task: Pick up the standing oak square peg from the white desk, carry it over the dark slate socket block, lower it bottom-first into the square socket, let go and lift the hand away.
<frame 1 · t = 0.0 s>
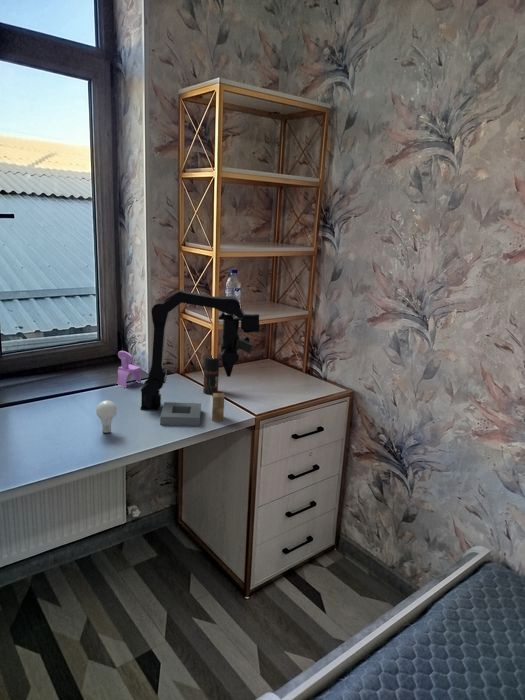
hand: (228, 372, 183), 15 cm above the table, tool pointing down, fingers open, 9 cm apart
toy chair: (128, 384, 206), on the table
deodorant: (210, 392, 204), on the table
peg: (217, 418, 178), on the table
socket block: (181, 417, 177), on the table
lightbulb: (106, 433, 161), on the table
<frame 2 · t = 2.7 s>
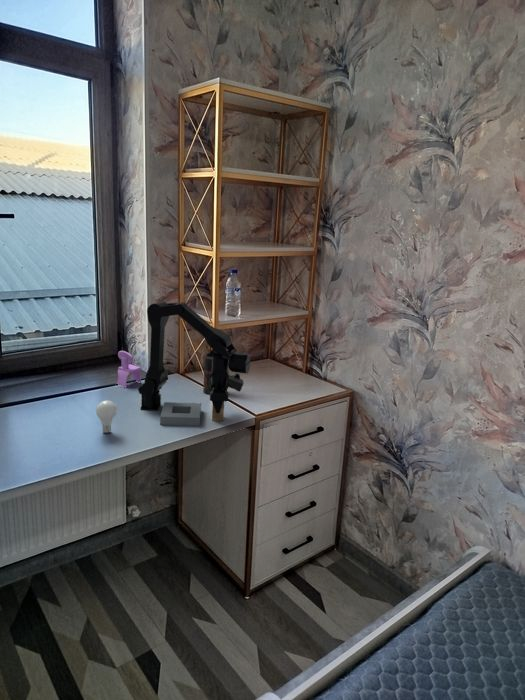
hand: (218, 410, 177), 3 cm above the table, tool pointing down, fingers closed on peg, 4 cm apart
peg: (217, 418, 178), on the table, touching gripper
everything else where it was.
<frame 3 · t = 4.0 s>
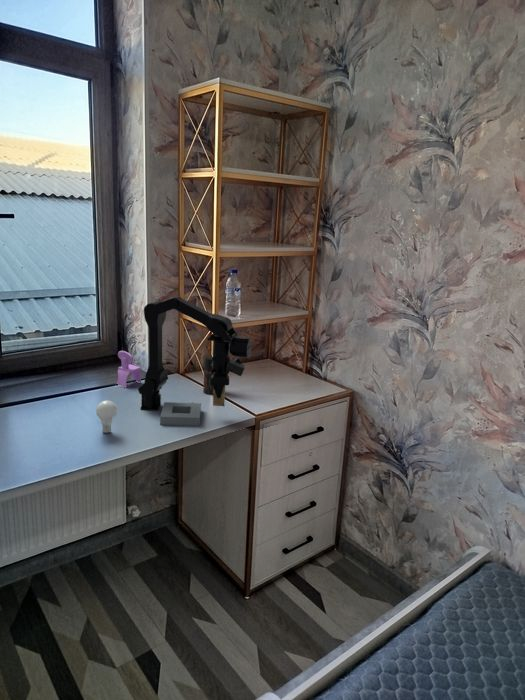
hand: (218, 395, 176), 9 cm above the table, tool pointing down, fingers closed on peg, 4 cm apart
peg: (218, 403, 177), point 6 cm above the table, touching gripper
everything else where it was.
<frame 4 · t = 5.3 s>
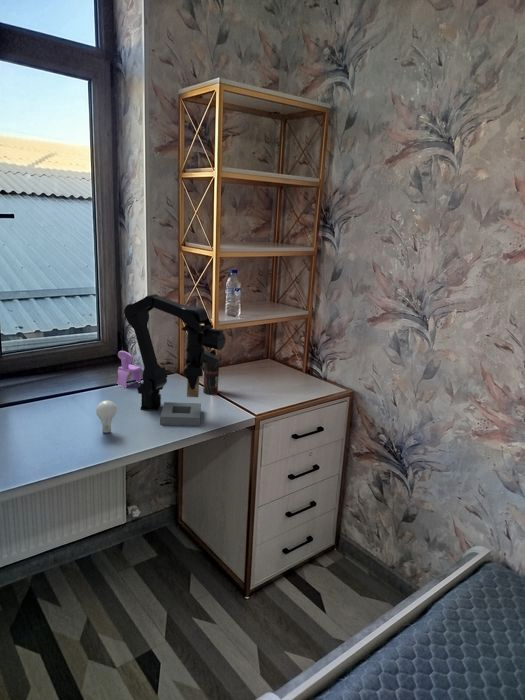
hand: (193, 387, 174), 12 cm above the table, tool pointing down, fingers closed on peg, 4 cm apart
peg: (192, 395, 175), point 9 cm above the table, touching gripper
everything else where it was.
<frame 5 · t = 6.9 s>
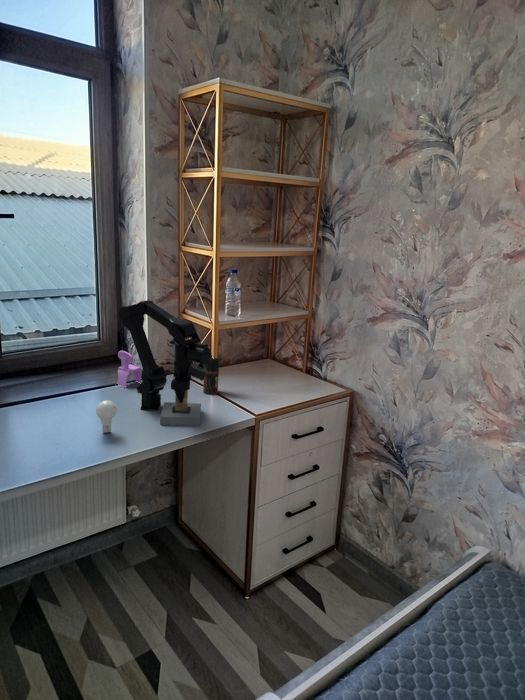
hand: (181, 400, 175), 7 cm above the table, tool pointing down, fingers closed on peg, 4 cm apart
peg: (181, 408, 176), point 4 cm above the table, touching gripper
everything else where it was.
when the fingers open (4 cm above the table, at t = 8.2 s): peg drops 1 cm, resting in socket block.
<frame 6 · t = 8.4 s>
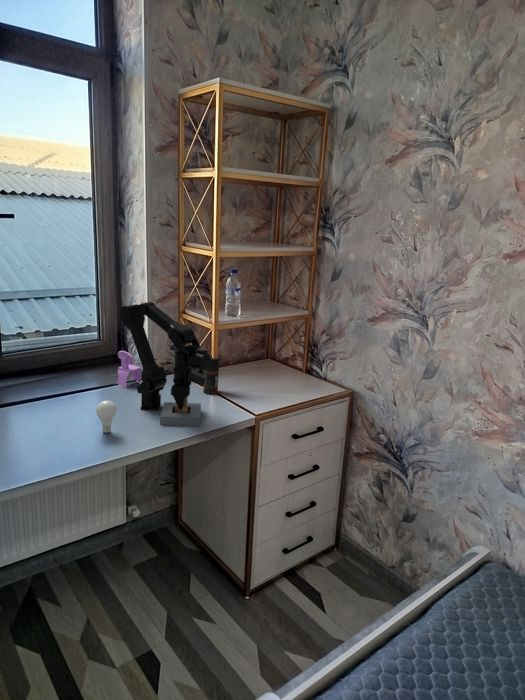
hand: (181, 405, 176), 4 cm above the table, tool pointing down, fingers open, 6 cm apart
peg: (181, 417, 177), resting in socket block
everything else where it was.
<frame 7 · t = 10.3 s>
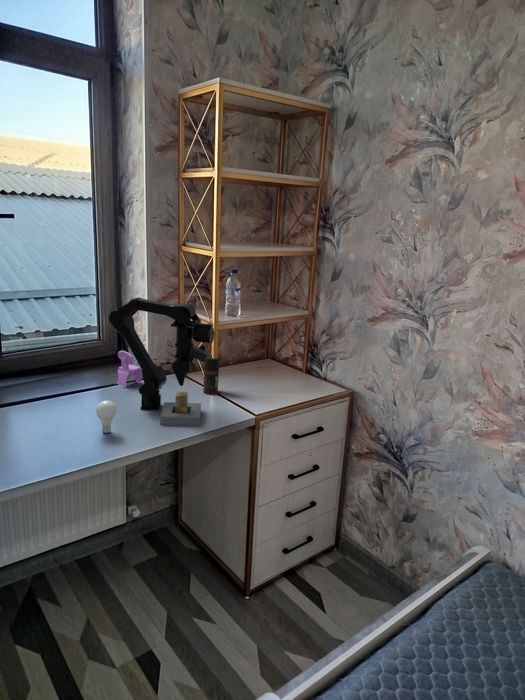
hand: (182, 381, 179), 12 cm above the table, tool pointing down, fingers open, 9 cm apart
nothing on the table moved.
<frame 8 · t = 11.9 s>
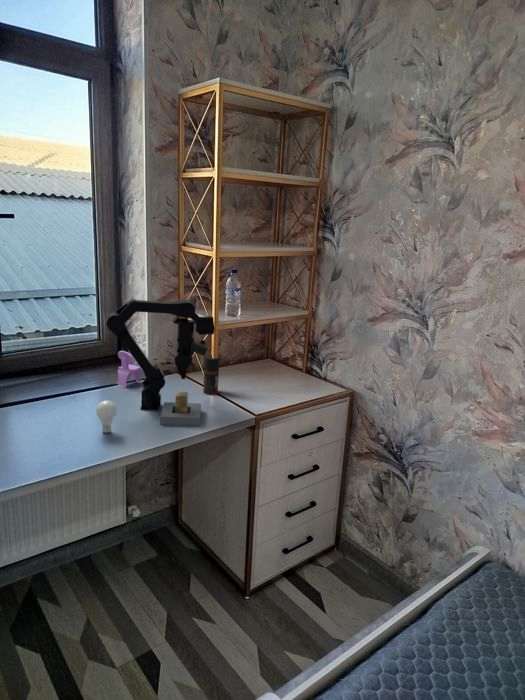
hand: (184, 375, 185), 12 cm above the table, tool pointing down, fingers open, 9 cm apart
nothing on the table moved.
at the end: peg 0.0 cm off-centre on the socket block, point 0.0 cm above the socket block's base; peg tilted 0°; the gripper is holding nothing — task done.
